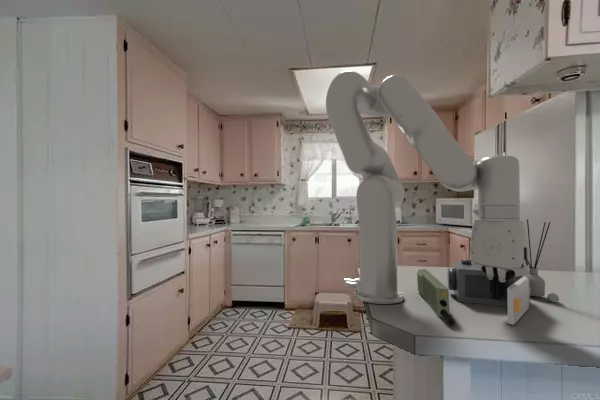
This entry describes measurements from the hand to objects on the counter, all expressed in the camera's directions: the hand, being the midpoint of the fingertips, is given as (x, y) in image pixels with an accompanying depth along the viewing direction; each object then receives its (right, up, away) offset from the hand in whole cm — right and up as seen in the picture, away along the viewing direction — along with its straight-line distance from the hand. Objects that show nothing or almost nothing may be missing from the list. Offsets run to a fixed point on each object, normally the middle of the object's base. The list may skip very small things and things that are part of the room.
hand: (499, 298), depth 66 cm
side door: (+5, -3, 0) cm, 6 cm away
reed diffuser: (+19, -4, +14) cm, 24 cm away
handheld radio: (-11, -4, +6) cm, 13 cm away
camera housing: (+5, -4, +12) cm, 14 cm away
